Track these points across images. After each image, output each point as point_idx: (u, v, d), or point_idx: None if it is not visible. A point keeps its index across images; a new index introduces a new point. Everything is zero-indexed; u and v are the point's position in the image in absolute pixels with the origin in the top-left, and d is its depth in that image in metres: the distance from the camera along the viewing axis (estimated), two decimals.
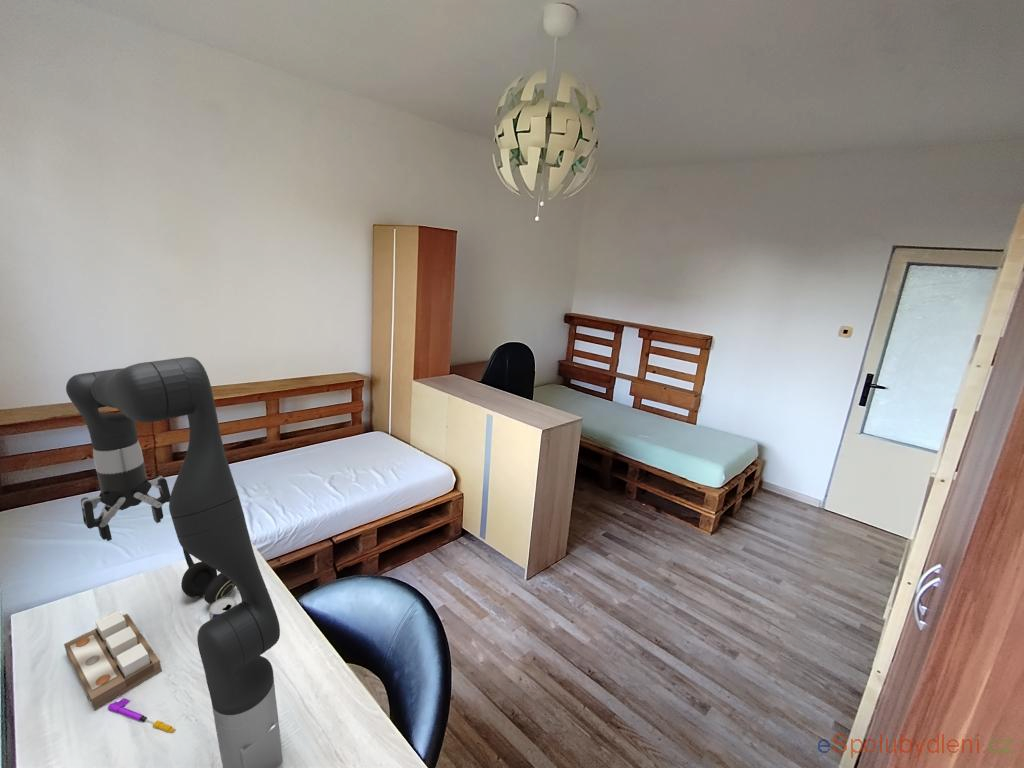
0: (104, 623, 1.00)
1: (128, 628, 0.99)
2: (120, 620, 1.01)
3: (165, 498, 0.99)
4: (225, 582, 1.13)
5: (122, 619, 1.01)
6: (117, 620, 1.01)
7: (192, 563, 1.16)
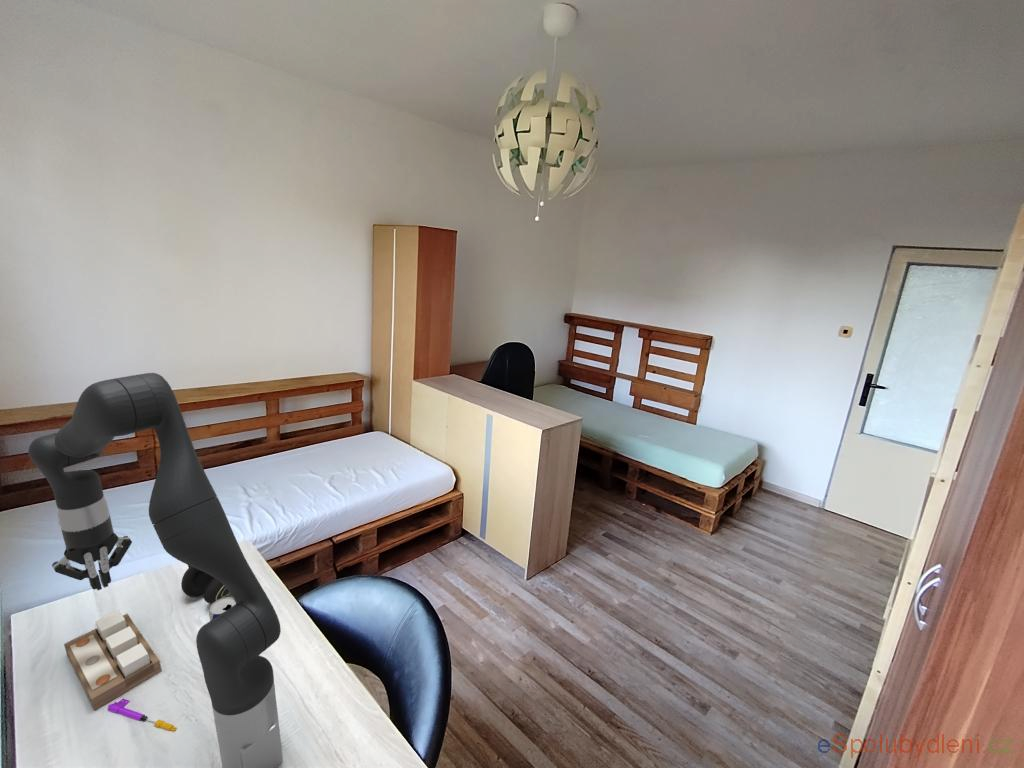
0: (104, 623, 1.00)
1: (128, 628, 0.99)
2: (120, 620, 1.01)
3: (115, 561, 0.98)
4: None
5: (122, 619, 1.01)
6: (117, 620, 1.01)
7: None
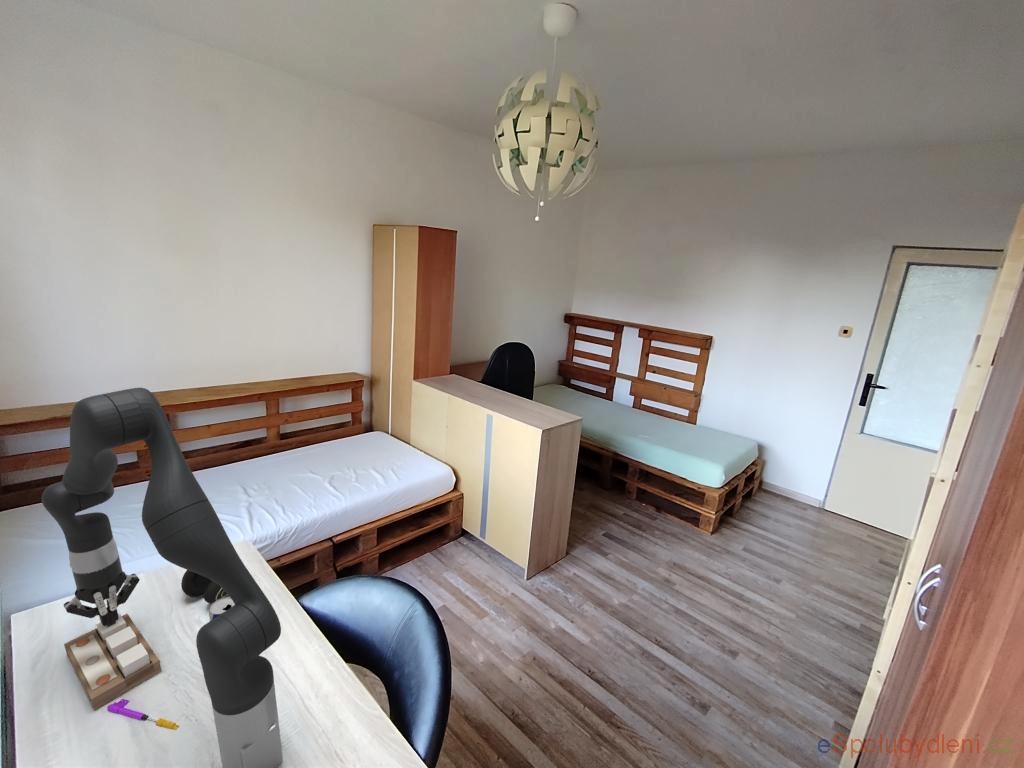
0: (105, 626, 1.00)
1: (128, 628, 0.99)
2: (120, 622, 1.01)
3: (122, 599, 1.01)
4: None
5: (123, 622, 1.02)
6: (118, 623, 1.01)
7: None
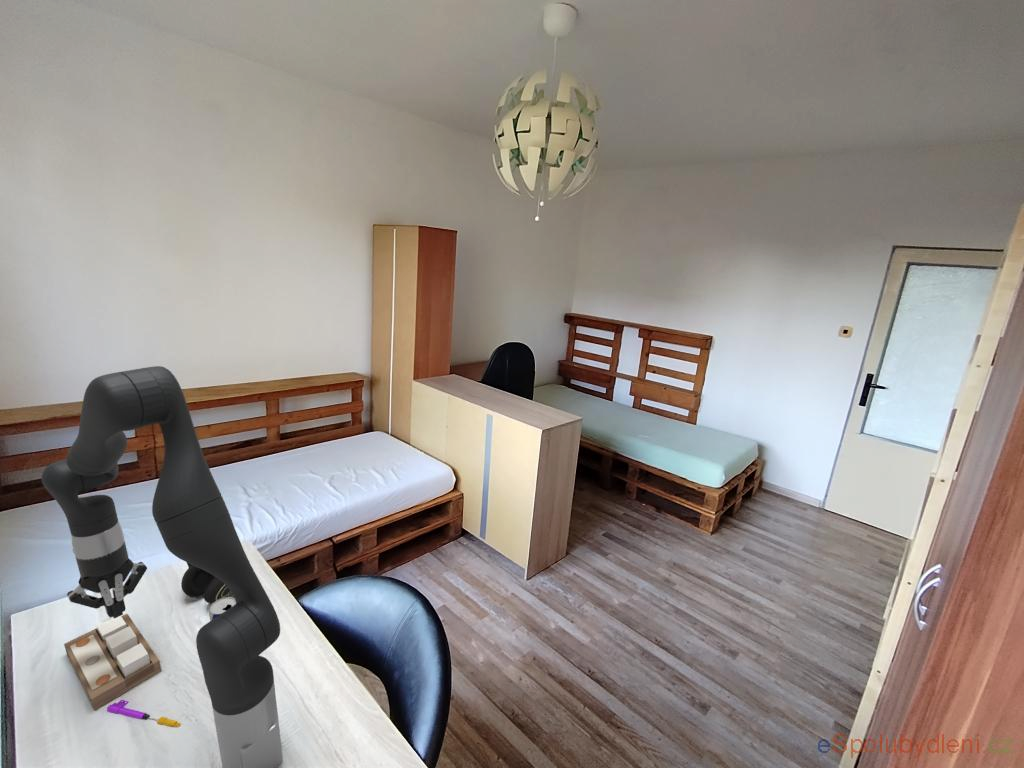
0: (105, 627, 1.00)
1: (128, 628, 0.99)
2: (121, 624, 1.01)
3: (129, 588, 0.95)
4: None
5: (123, 623, 1.02)
6: (118, 625, 1.01)
7: None
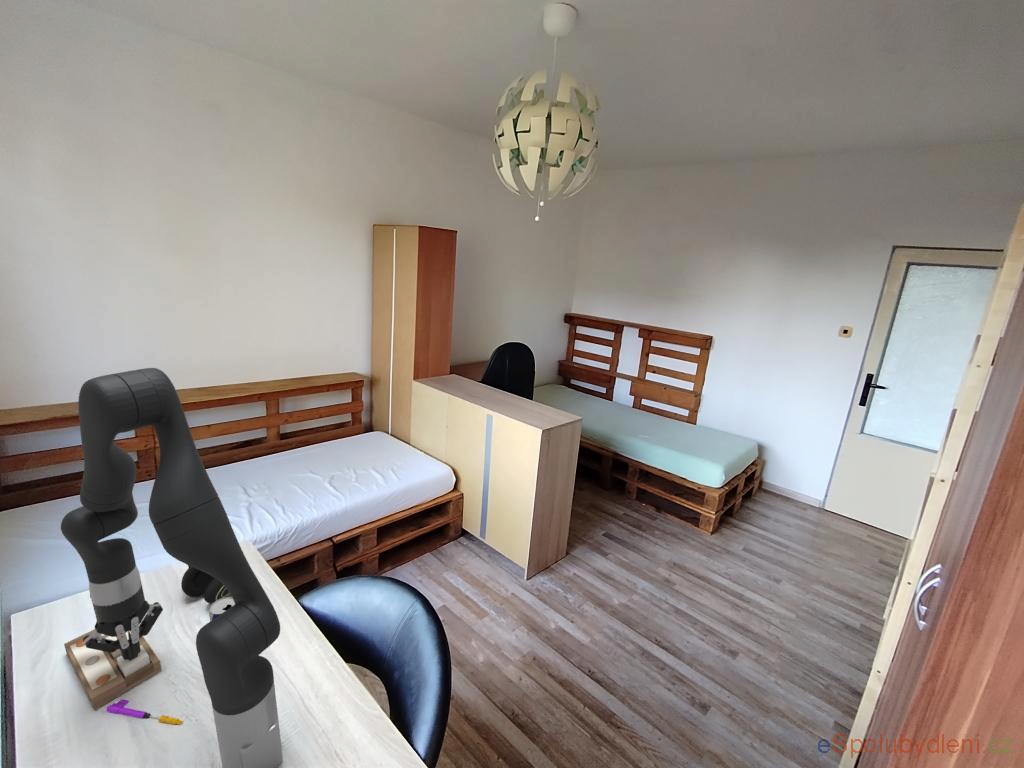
0: None
1: None
2: None
3: (145, 630, 0.93)
4: None
5: None
6: None
7: None
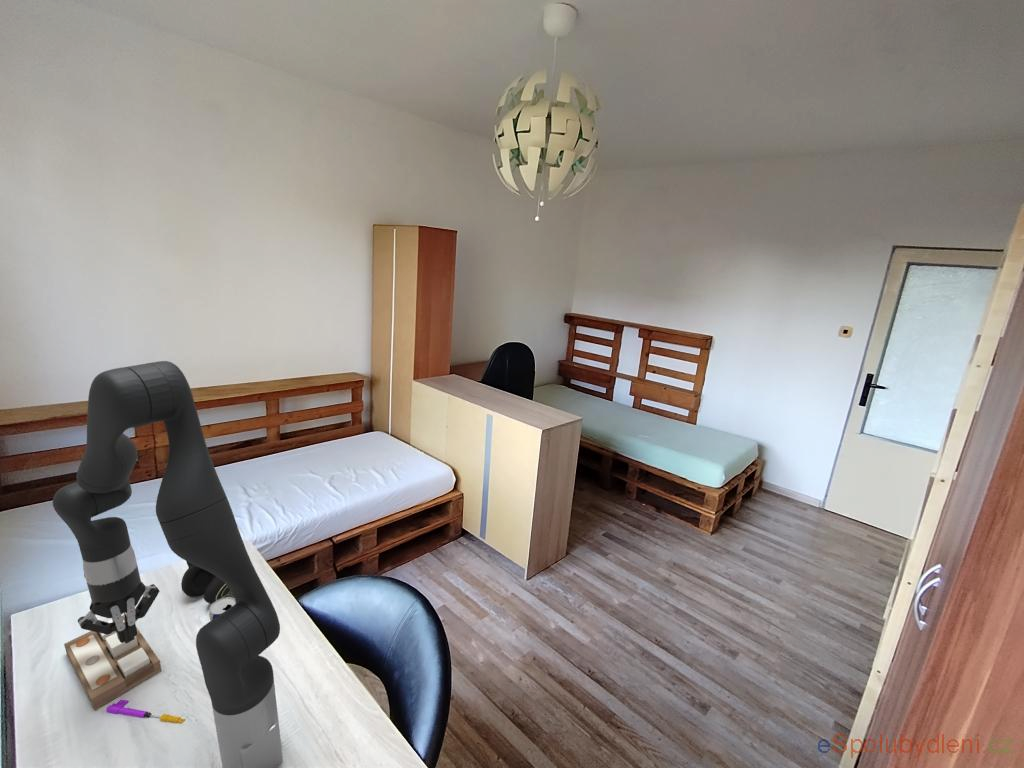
0: None
1: None
2: None
3: (141, 612, 0.92)
4: None
5: None
6: None
7: None
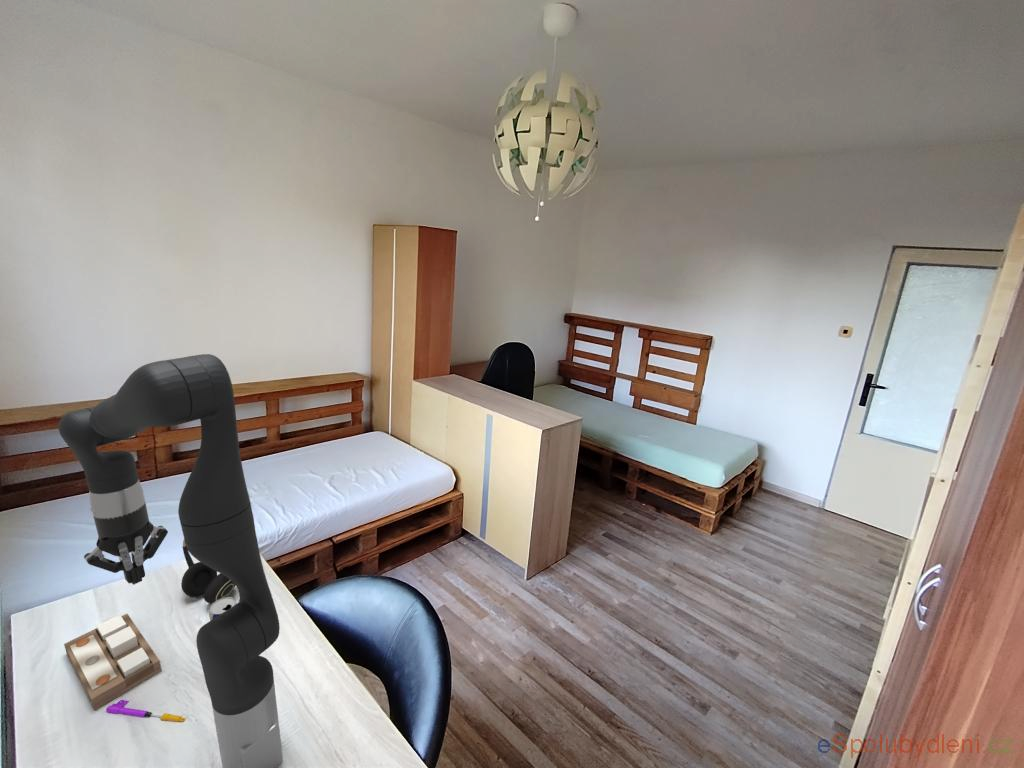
0: (105, 627, 1.00)
1: (128, 628, 0.99)
2: (121, 624, 1.01)
3: (149, 553, 0.89)
4: (225, 582, 1.13)
5: (123, 623, 1.02)
6: (118, 625, 1.01)
7: (192, 563, 1.16)
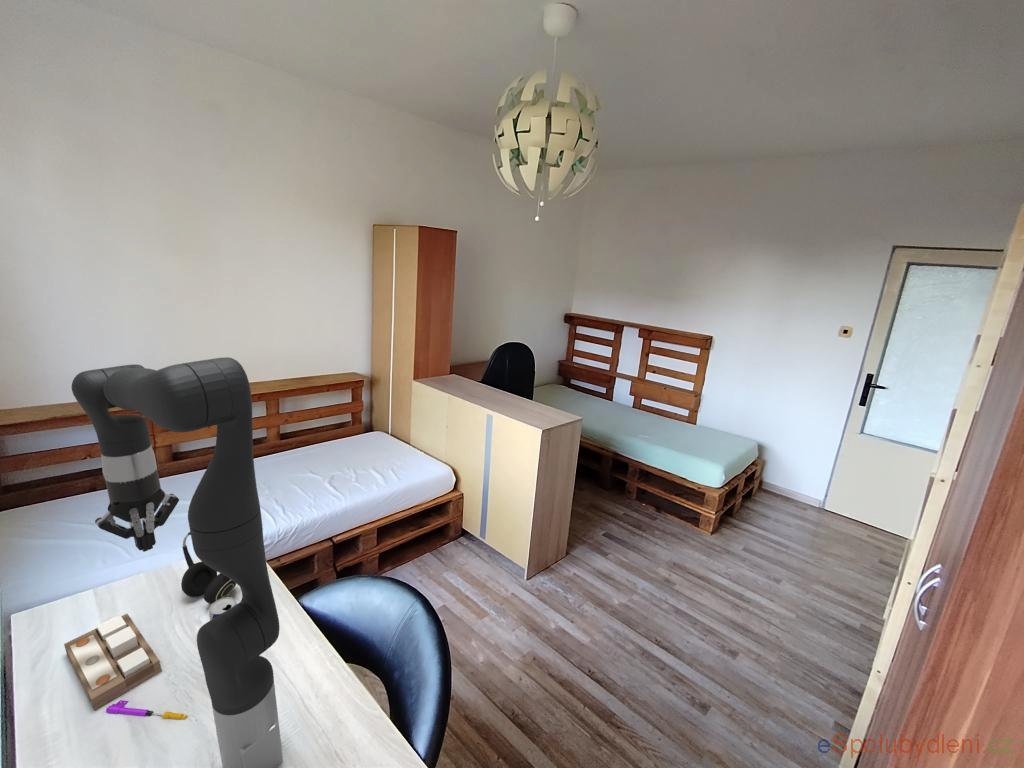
0: (105, 627, 1.00)
1: (128, 628, 0.99)
2: (121, 624, 1.01)
3: (160, 520, 0.88)
4: (225, 582, 1.13)
5: (123, 623, 1.02)
6: (118, 625, 1.01)
7: (192, 563, 1.16)
